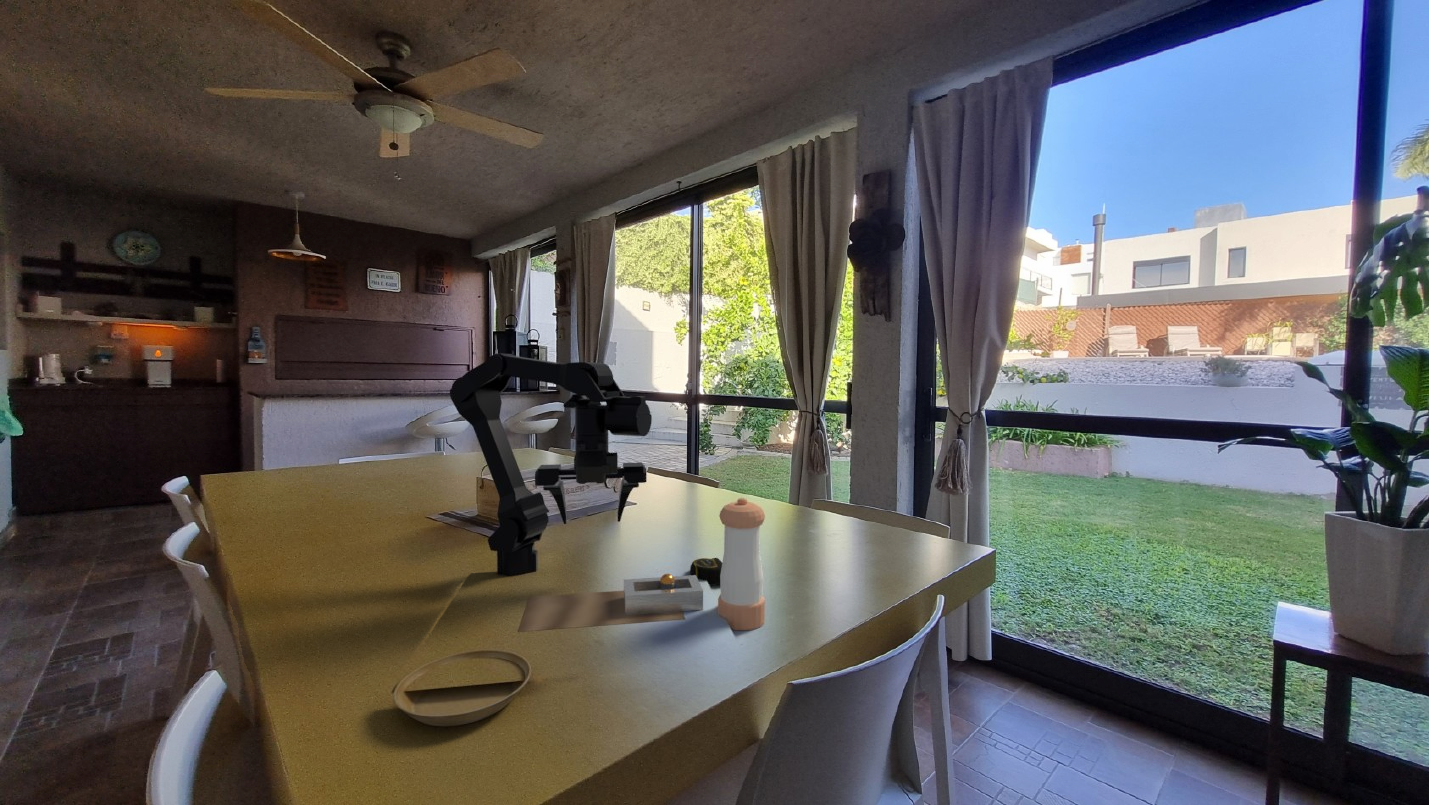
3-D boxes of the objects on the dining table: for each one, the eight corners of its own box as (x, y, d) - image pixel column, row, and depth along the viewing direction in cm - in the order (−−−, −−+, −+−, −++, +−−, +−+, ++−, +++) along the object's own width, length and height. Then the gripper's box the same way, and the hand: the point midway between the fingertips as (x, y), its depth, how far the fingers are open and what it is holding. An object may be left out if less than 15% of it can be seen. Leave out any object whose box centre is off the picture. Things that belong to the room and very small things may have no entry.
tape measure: (732, 587, 103) (732, 566, 103) (695, 591, 101) (696, 570, 101) (720, 574, 110) (720, 555, 110) (685, 577, 108) (686, 558, 108)
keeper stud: (660, 606, 90) (660, 577, 90) (659, 600, 93) (659, 572, 92) (675, 605, 91) (675, 576, 91) (673, 599, 93) (673, 571, 93)
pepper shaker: (757, 633, 84) (758, 505, 83) (711, 626, 87) (711, 501, 86) (769, 614, 91) (771, 495, 90) (726, 607, 94) (727, 492, 93)
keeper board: (517, 642, 81) (517, 631, 81) (529, 605, 94) (529, 596, 94) (685, 628, 86) (685, 619, 86) (674, 595, 99) (674, 587, 98)
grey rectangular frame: (625, 615, 87) (625, 595, 87) (623, 597, 94) (623, 579, 94) (702, 609, 89) (703, 590, 89) (695, 592, 96) (695, 575, 96)
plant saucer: (385, 692, 69) (385, 671, 69) (510, 657, 78) (510, 638, 77) (404, 759, 57) (404, 733, 57) (549, 708, 66) (549, 686, 66)
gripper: (530, 440, 90) (531, 537, 91) (649, 438, 94) (649, 532, 95) (538, 433, 101) (539, 520, 102) (644, 431, 105) (644, 516, 105)
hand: (592, 522), depth 101 cm, fingers open, 9 cm apart
